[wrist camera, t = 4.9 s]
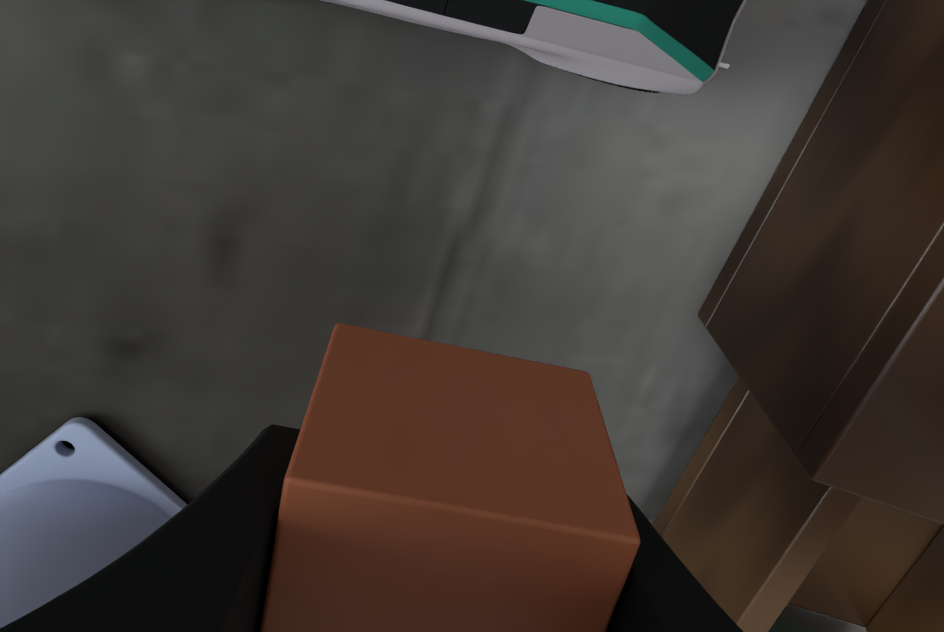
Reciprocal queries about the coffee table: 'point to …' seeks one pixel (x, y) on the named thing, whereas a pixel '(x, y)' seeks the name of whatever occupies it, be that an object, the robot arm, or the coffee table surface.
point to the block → (448, 496)
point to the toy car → (592, 34)
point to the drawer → (796, 536)
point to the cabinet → (853, 271)
